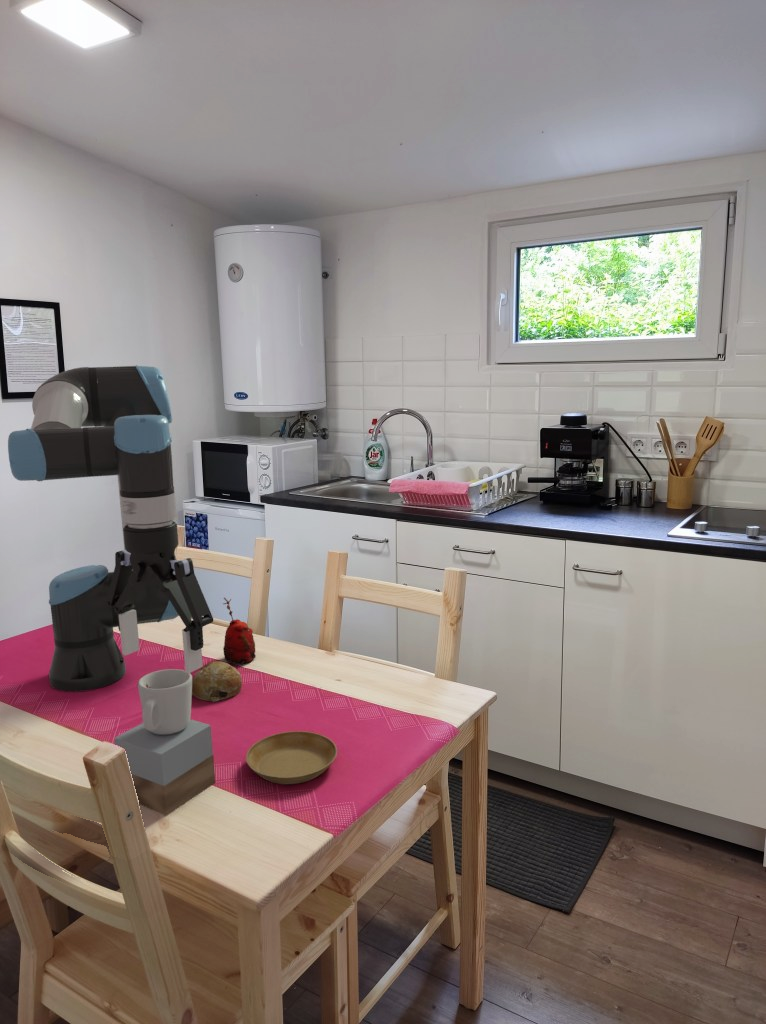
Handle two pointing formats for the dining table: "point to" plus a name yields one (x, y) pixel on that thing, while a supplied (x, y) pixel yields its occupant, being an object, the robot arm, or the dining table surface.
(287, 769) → the plant saucer
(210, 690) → the bread roll
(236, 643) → the red textured ornament
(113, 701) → the dining table surface
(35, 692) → the dining table surface
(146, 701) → the cup
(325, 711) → the dining table surface
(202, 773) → the walnut block
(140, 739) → the grey block
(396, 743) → the dining table surface
